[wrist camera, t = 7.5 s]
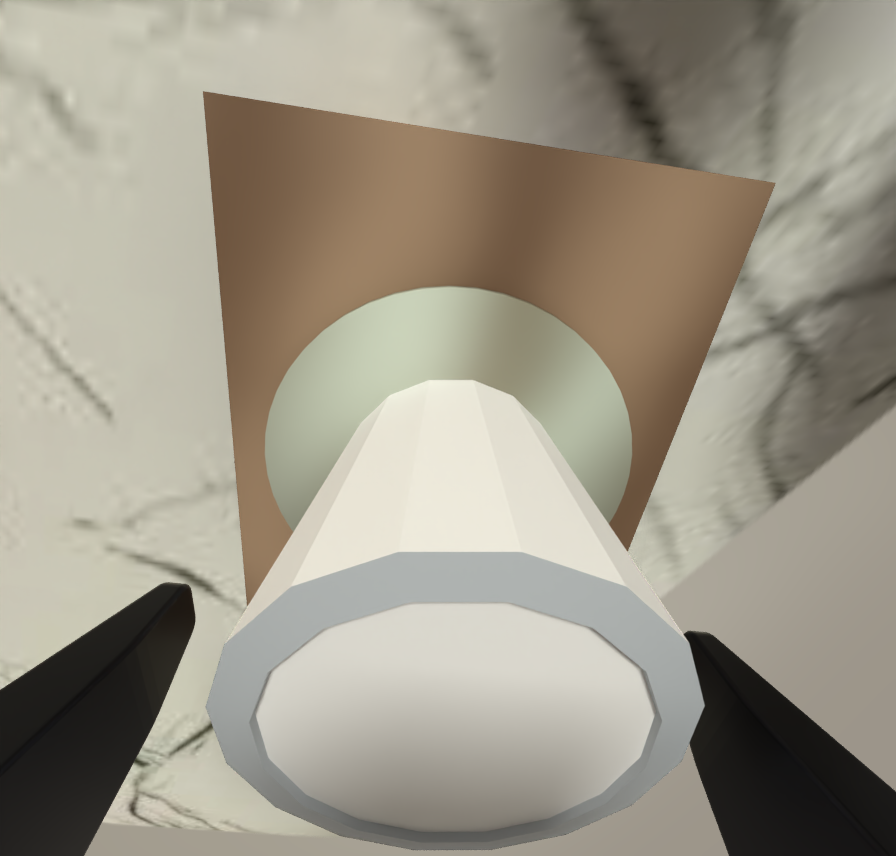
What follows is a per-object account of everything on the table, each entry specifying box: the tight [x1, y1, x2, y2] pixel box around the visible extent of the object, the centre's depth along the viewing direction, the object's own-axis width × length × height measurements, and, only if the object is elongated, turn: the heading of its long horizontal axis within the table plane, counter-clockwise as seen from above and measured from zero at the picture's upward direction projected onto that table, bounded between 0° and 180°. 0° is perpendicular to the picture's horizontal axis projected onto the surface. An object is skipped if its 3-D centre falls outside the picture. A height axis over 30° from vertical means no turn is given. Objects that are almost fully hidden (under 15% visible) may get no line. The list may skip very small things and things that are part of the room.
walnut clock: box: [203, 91, 775, 607], centre depth 15 cm, size 12×16×5 cm
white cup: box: [206, 380, 705, 850], centre depth 9 cm, size 7×7×7 cm
